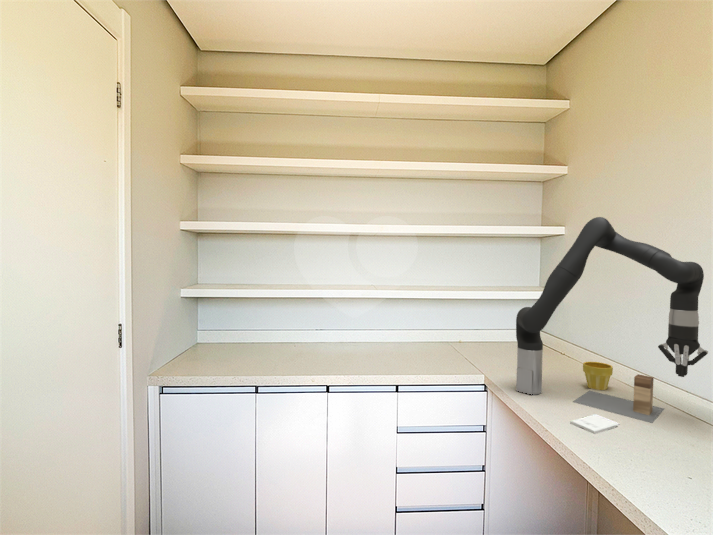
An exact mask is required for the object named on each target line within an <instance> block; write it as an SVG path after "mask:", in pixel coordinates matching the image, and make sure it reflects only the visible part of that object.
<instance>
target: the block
mask: <svg viewBox="0 0 713 535" xmlns="http://www.w3.org/2000/svg"><path fill="white" fill-rule="evenodd" d="M633 379H634V380H633V401H634V402H633V411H634V412H638V413H642V414H646V415H650V414H651V413H652V406H654V404H653V402H654V400H653V399H654V379H655V378H654V377H653V376H648V375H644V374H638V373H637V375H635V376H634V378H633Z"/></svg>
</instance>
